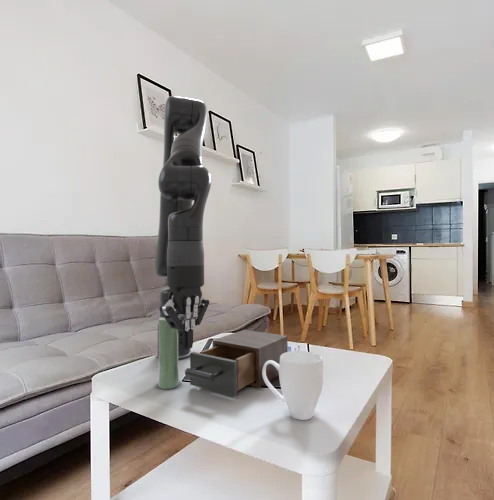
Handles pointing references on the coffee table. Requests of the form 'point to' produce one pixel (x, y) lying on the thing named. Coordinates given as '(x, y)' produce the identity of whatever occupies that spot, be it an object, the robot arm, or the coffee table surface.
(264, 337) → the cabinet
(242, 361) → the drawer
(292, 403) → the mug
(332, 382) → the coffee table surface
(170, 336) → the green cylinder
